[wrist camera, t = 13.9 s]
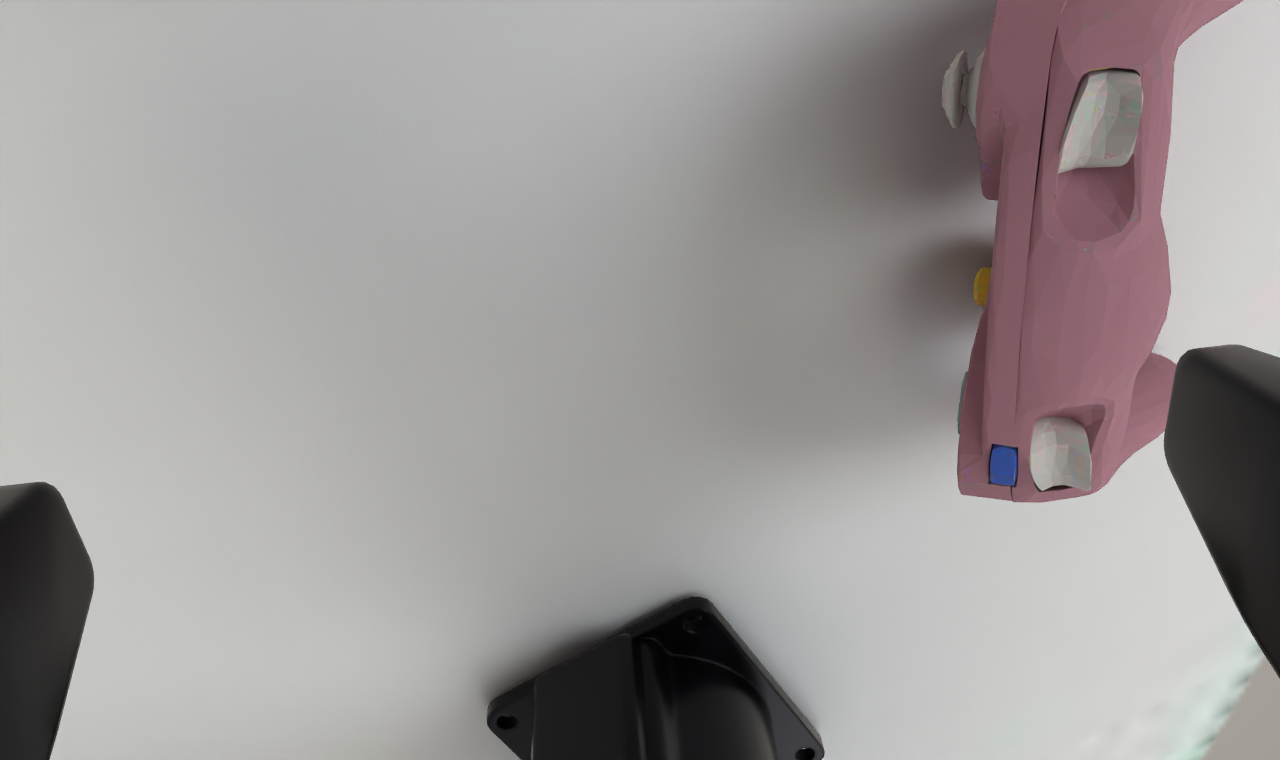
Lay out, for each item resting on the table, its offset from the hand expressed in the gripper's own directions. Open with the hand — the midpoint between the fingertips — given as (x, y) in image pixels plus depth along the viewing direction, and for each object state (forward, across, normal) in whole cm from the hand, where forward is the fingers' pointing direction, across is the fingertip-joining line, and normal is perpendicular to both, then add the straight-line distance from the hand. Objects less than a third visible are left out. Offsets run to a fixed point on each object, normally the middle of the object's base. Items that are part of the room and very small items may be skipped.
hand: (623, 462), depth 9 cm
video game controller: (+13, -8, +4) cm, 16 cm away
